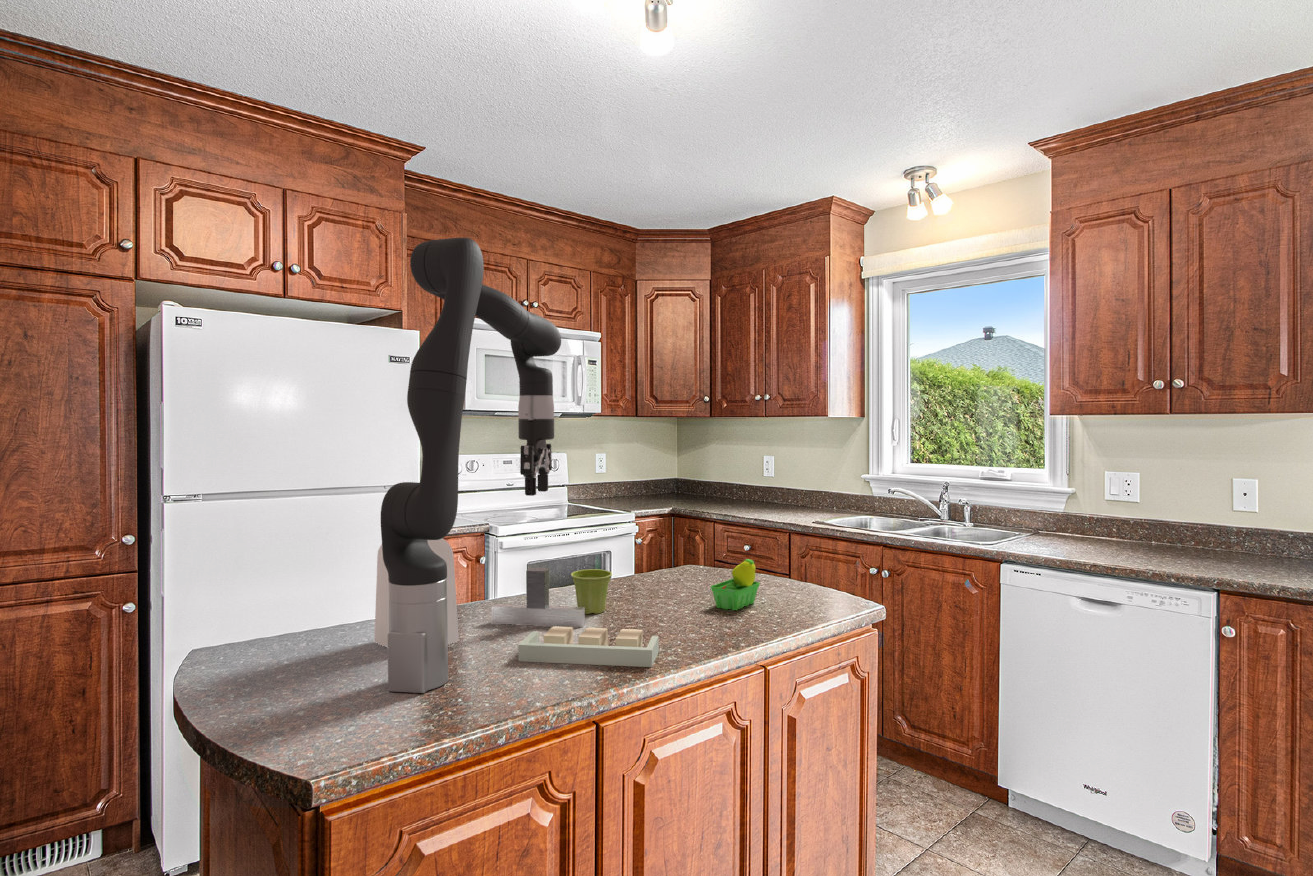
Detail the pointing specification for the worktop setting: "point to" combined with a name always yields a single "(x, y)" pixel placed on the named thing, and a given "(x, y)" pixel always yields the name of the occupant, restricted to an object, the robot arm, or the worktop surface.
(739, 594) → the fruit basket
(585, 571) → the plant pot
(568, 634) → the block left
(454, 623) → the milk
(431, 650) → the robot arm
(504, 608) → the t-shaped handle
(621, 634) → the block right
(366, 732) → the worktop surface
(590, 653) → the tray
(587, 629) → the block middle
